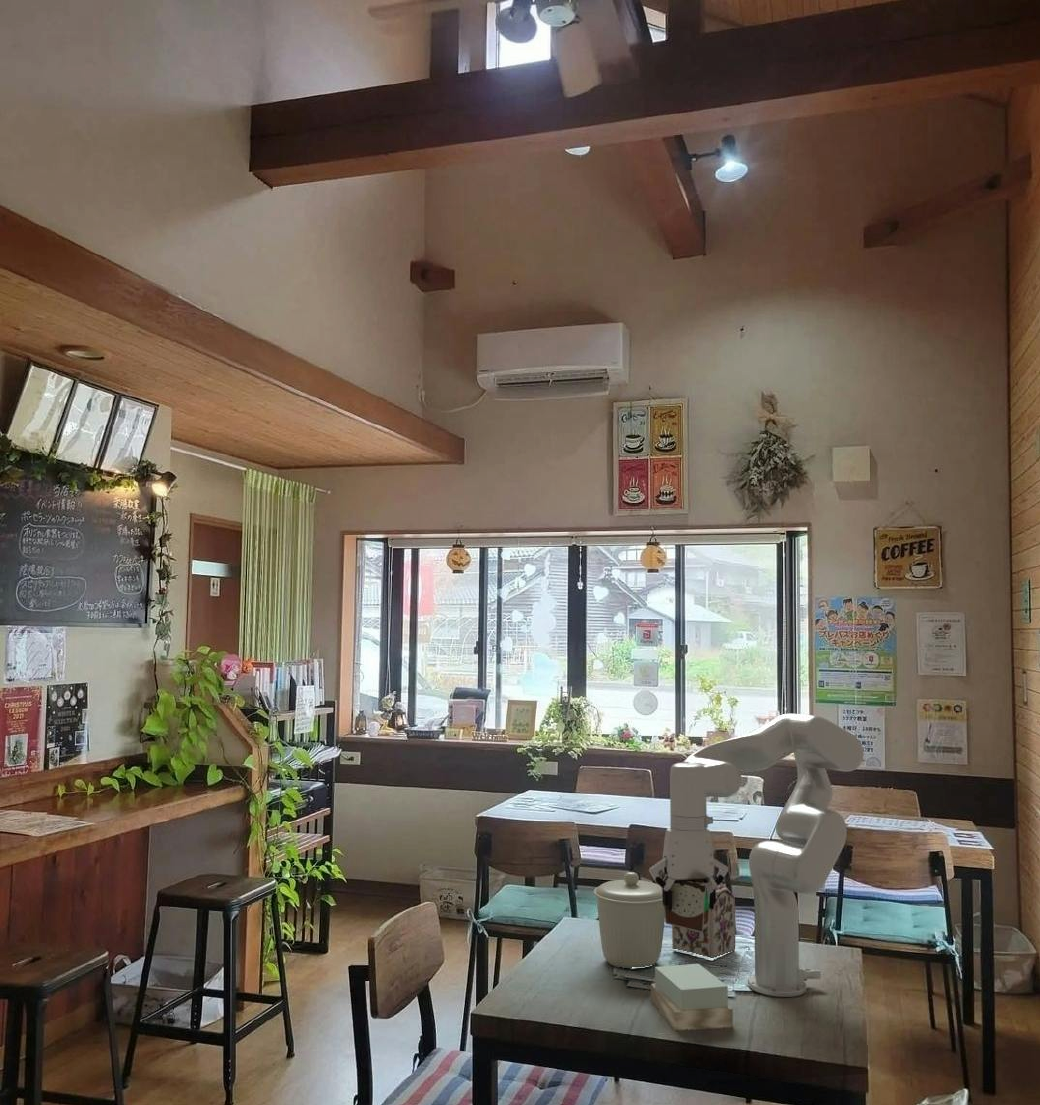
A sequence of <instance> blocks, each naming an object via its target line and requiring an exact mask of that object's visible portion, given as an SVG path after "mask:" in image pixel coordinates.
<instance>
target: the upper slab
mask: <svg viewBox="0 0 1040 1105" xmlns="http://www.w3.org/2000/svg"><path fill="white" fill-rule="evenodd" d="M654 984H655V987H656V988H657V989H658V990H659V991H661V992H662V993H663V994H664V995H665V996H666V997H667V998H668V999H669V1000H670V1001H671V1002H672V1003H674V1004H675V1005H676V1006H677V1007H678V1008H679V1009H680V1010H681V1011H687V1010H698V1009H709V1008H720V1007H728V1005H729V1001H728V1000H729V994H728V992H729V990H728V985H727V984H726V983H724V982H723V981H722V980H720V979H719V978H718V977H716V976H715V975H714V974H712V973H711V972H710V971H709V970H707V969H706V968H705V967H704V966H703V965H701V964H699V963H689V964H678V965H664V966H655V967H654Z"/></svg>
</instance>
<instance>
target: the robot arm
mask: <svg viewBox="0 0 1040 1105" xmlns="http://www.w3.org/2000/svg"><path fill="white" fill-rule="evenodd" d="M791 754H793V756H794V761H795V764H796V771H797V779H796V780H797V781H796V784H795V786H794V789H793V791H792V792H791V794H790V795H789V797H788V799H787V801H786V803H785V805H784V807H783V808H782V810H781V812H780V814H779V815H778V818H777V820H776V824H775V830H776V835H777V837H778V838H779V839H780V840H782V841H783V842H780V841H776V840H763V841H760V842H758V843H756V844H755V845H754V846H753V847H752V849H751V851H750V853H749V856H748V857H749V858H748V867H749V868H748V869H749V873H750V874H749V875H750V878H751V882H752V890H753V899H754V900H753V902H754V903H753V904H754V906H753V910H754V911H753V912H754V914H753V916H754V974H752V975H750V976H749V977H748V979H747V985H748V984H749V985H750V987H751V988H752V989H751V988H750V987H749V988H750V989H751V990H752V991H754V992H755V993H759V994H762V995H766V996H771V997H776V998H779V997H780V998H792V997H798V996H802V995H803V994H805V993H806V992H807V987H808V985H807V983H806V982H807V981H808V980H820V979H821V972H820V971H821V970H819V969H810V967H802V966H800V954H799V953H800V951H799V950H800V945H799V941H800V940H799V939H800V938H799V906H798V905H799V904H798V902H797V897H796V895H795V893H798V894H802V895H809V896H810V895H813V894H816V893H817V892H819V891H820V890H821V889H822V888H823V886H824V885H825V884H826V882H827V880H828V878H829V876H830V874H831V873H832V870H833V868H834V867H835V865H836V863H837V861H838V859H839V856H840V855H841V853H842V850H843V849H844V846H845V843H846V840H847V832H848V831H847V825H846V820H845V819H844V817H843V816H842V815H841V814H840V813H839V812H838V811H835V810H833V809H832V808H829V806H830V804H831V803H832V801H833V800H832V799H833V795H834V794H833V793H834V792H833V787H832V786H833V785H832V783H831V782H830V778H829V775H828V773H827V770H831V771H832V770H833V771H838V772H844V773H845V772H846V773H847V772H853V771H855V770H857V769H858V768H859V767H860V766H861V764H862V763H863V760H864V747H863V745H862V743H861V741H860V739H859V738H857V737H856V735H854V734H853V733H851V732H849V731H848V730H846V729H844V728H842V727H841V726H839V725H837V724H836V723H834V722H832V721H831V720H828V719H826V718H824V717H822V716H819V715H813V714H811V715H810V714H803V713H802V714H801V713H791V712H790V713H784V714H783V713H782V714H780V715H778V716H776V717H774V718H773V719H771V720H769V721H768V722H766V723H765V724H762V725H761V726H759V727H758V728H756V729H754V730H753V731H750V732H749V733H747V734H744V735H741V736H737V737H736V736H735V737H733V738H729V739H726V740H722V741H719V742H716V743H715V742H714V743H712V744H708V745H707V746H704V747H702V748H700V749H699V750H696V751H695V752H693V753H692V754H690V755H689V756H687V757H686V758H685V759H684V760H683V761H682V762H677V763H673V764H672V765H671V767H670V772H669V777H670V778H669V781H670V782H669V784H670V785H669V786H670V788H669V790H670V791H669V794H670V795H669V796H670V797H669V798H670V799H669V802H670V808H669V809H670V810H669V812H670V817H669V818H670V823H669V826H670V827H668V828H666V830H665V835H664V842H663V851H662V859H661V860H659V861H657V862H656V863H654V865H651V866H650V867H649V869H648V871H649V873H650V875H651V876H652V879H653V881H655V883H656V884H658V885H660V886H661V887H662V902H663V905H664V906H665V908H666V909H667V910H668V911H671V910H672V891H671V890H670V888H671V886H672V885H673V883H674V881H675V880H701V879H706V880H707V881H708V878H710V880H711V882H712V886H713V892H712V893H710V901H709V908H710V909H714V904H715V903H716V889H717V888H718V885H719V884H720V883H721V884H722V882H723V881H724V880H725V877H726V875H727V873H728V872H729V870H730V869H729V866H728V865H725V864H724V863H722V862H721V861H719V860H718V859H716V858H714V849H713V848H714V847H713V841H712V840H713V839H712V835H711V831H710V829H708V827H709V825H712V824H713V823H714V818H713V816H709V815H708V814H707V812H708V811H707V798H711V797H712V798H729V797H731V796H734V795H735V794H737V793H738V791H739V790H740V789H741V787H742V782H743V781H742V780H743V777H742V773H748V772H750V773H751V772H758V771H764V770H766V769H769V768H771V767H772V766H773V765H775V764H777V763H778V762H780V761H781V760H783V759H785V758H786V757H788V756H790V755H791ZM715 867H716V868H718V872H717V873H716V874H715ZM661 870H662V874H663V873H664V874H666V876H665V877H664V879H663V880H662V879H661V878H660V877H661V875H660V874H659V872H660V871H661ZM714 875H715V876H714ZM749 985H748V986H749Z"/></svg>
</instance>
